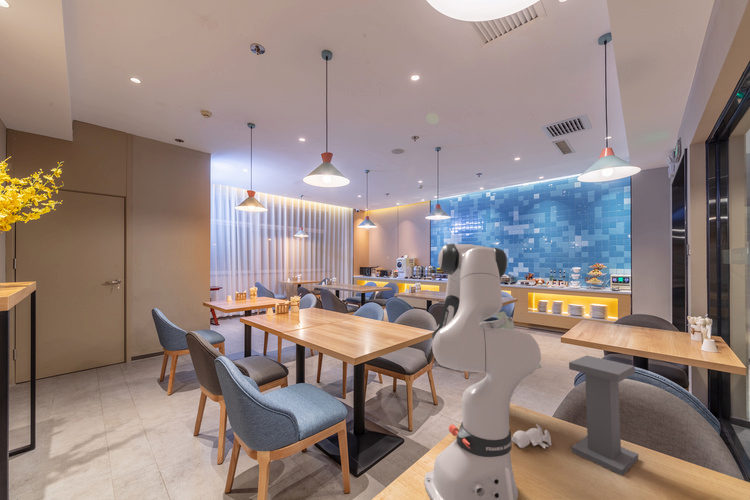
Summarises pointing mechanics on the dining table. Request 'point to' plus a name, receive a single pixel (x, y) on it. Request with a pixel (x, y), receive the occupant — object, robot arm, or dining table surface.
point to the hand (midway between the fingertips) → (508, 319)
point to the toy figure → (531, 437)
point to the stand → (603, 414)
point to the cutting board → (507, 324)
